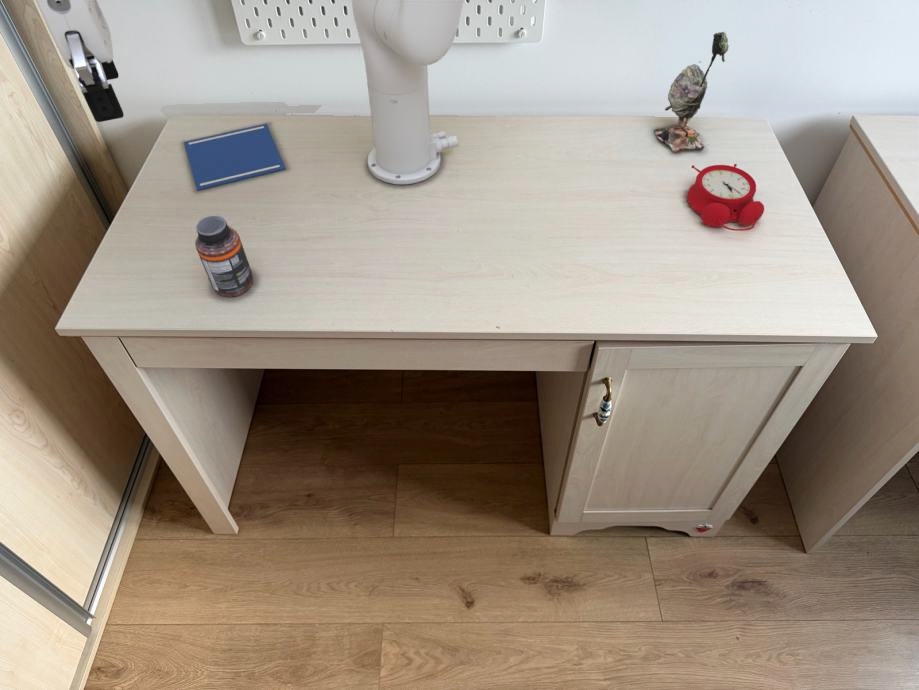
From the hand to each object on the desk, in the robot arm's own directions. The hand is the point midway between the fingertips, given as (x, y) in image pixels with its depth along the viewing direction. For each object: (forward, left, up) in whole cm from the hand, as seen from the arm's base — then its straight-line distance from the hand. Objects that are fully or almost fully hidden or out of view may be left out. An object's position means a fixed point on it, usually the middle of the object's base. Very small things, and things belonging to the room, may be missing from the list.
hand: (108, 98), depth 83 cm
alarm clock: (-83, +24, -26) cm, 90 cm away
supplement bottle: (-7, +10, -26) cm, 29 cm away
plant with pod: (-88, +4, -26) cm, 92 cm away
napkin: (-13, -22, -26) cm, 37 cm away
